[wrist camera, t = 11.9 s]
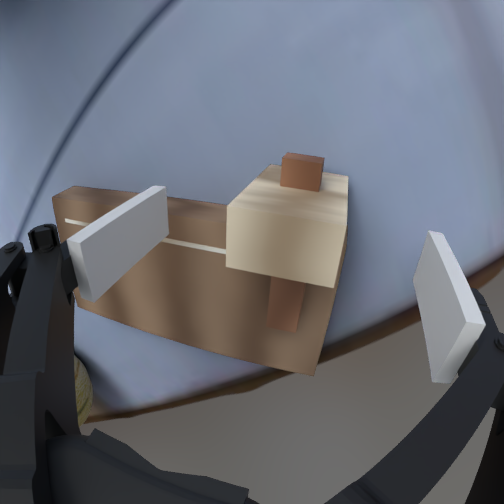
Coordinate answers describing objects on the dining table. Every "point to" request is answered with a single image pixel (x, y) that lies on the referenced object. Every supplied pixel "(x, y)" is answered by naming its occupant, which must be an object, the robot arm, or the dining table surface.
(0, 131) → the dining table surface
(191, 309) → the walnut board
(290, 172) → the marking gauge
